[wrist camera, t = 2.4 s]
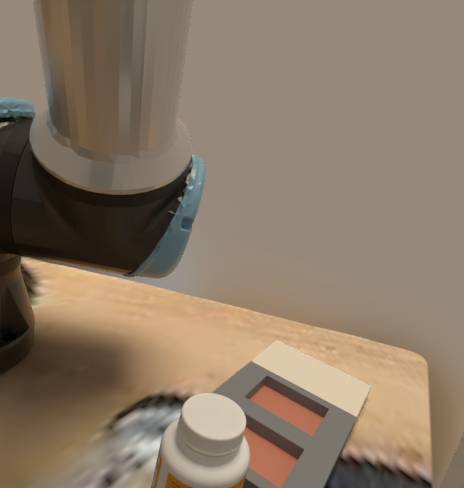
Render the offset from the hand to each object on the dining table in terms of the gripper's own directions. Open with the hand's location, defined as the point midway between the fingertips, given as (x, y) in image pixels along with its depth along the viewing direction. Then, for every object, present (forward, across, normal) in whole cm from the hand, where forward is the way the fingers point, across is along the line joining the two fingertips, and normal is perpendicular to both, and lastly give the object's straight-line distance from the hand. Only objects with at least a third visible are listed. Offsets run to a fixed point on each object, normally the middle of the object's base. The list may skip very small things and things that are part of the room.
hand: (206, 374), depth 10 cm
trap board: (+25, +6, -18) cm, 32 cm away
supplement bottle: (+10, 0, -19) cm, 21 cm away
